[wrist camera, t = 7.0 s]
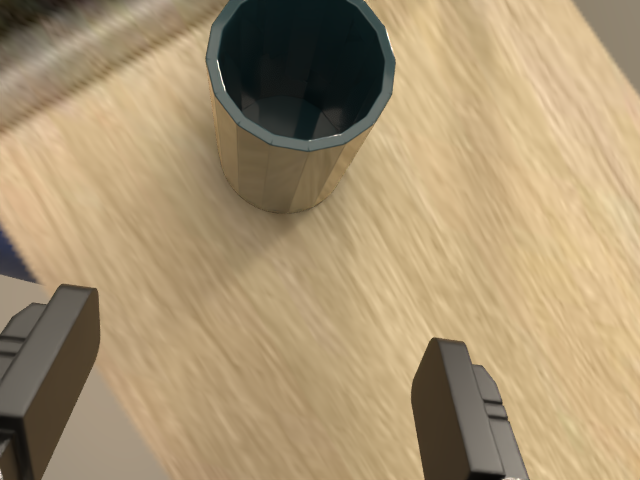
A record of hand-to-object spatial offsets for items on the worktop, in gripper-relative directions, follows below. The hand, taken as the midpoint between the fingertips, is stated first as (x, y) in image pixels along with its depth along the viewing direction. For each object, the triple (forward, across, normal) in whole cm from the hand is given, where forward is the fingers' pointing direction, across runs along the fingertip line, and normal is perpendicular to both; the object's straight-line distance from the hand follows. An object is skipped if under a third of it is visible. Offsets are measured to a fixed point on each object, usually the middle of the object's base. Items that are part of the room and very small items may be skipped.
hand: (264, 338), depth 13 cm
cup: (+16, 0, +3) cm, 16 cm away
